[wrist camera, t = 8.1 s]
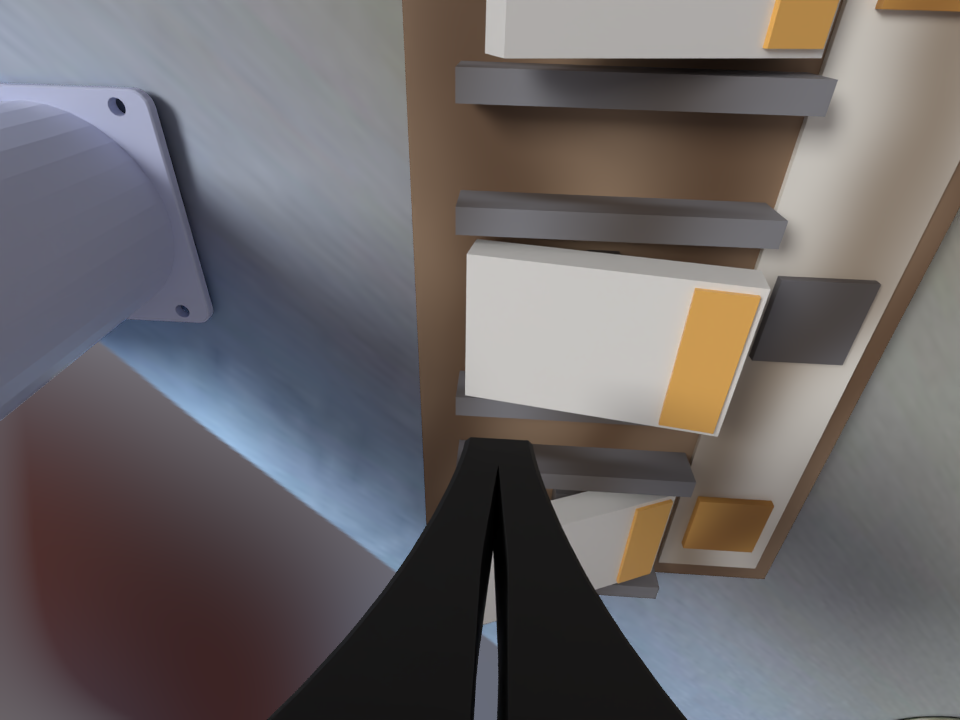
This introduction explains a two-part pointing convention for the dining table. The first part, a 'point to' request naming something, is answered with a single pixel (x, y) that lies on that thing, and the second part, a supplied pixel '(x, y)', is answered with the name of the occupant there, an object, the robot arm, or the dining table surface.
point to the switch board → (689, 241)
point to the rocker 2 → (607, 536)
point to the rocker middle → (608, 333)
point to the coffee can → (935, 718)
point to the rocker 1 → (658, 28)
